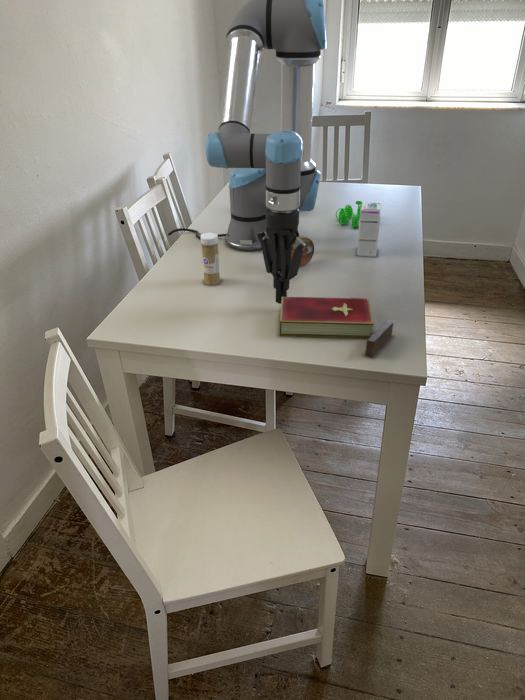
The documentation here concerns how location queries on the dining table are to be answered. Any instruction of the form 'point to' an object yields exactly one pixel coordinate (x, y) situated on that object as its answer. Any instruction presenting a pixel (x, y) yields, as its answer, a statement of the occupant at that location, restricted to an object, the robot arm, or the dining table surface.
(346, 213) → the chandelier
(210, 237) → the sprinkles bottle
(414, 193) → the dining table surface
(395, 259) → the dining table surface
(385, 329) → the bar
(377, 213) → the syrup box
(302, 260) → the tin
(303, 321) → the hardcover book
